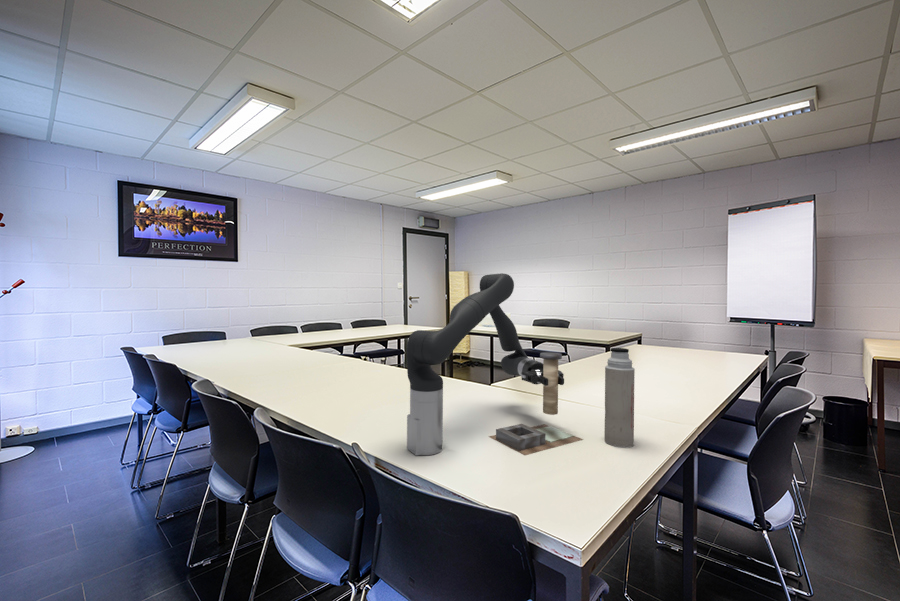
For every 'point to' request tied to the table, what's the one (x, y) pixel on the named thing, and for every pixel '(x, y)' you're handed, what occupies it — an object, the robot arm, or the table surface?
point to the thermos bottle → (619, 399)
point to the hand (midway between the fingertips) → (554, 381)
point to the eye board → (532, 438)
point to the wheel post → (550, 382)
